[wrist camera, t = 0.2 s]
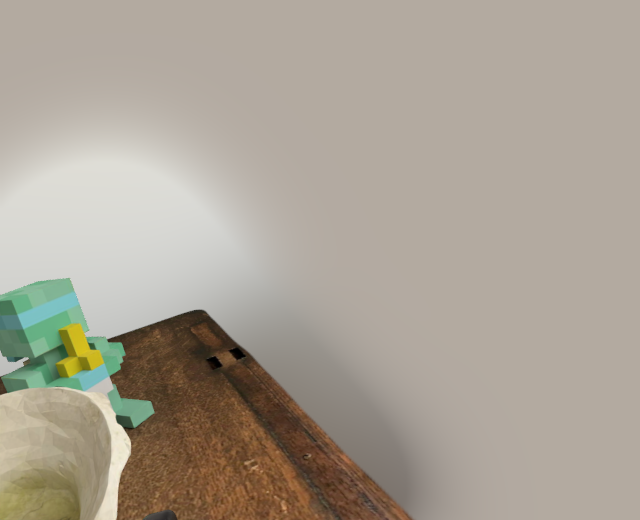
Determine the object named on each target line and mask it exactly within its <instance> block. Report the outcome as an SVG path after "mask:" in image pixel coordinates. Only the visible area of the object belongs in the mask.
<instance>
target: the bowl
mask: <svg viewBox="0 0 640 520" xmlns="http://www.w3.org/2000/svg"><path fill="white" fill-rule="evenodd" d="M115 417H116V413H115V412H114V411H113V410H112V409H111V406H110V401H109V400H108V399H107V397H106V396H105V395H104V394H103V393H99V392H84V391H81V390H76V389H72V388H68V387H51V388H28V389H23V390H19V391H14V392H11V393H7V394H3V395H0V520H116V518H117V500H118V486H119V481H120V476H121V471H122V470H123V468H124V466H125V464H126V462H127V460H128V458H129V456H130V455H131V441H130V439H129V437H128V436H127V434H126V432H125V430H124V429H123V427H122V426H121V425H119V424H118V423H117V421H116V418H115Z"/></svg>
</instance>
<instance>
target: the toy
mask: <svg viewBox="0 0 640 520" xmlns="http://www.w3.org/2000/svg"><path fill="white" fill-rule="evenodd" d="M87 331H89V328H88V326H87V323H86V320H85V318H84V315H83V312H82V310H81V307H80V304H79V302H78V299H77V296H76V294H75V291H74V288H73V286H72V283H71V281H70V278H66V279H57V280H47V281H38V282H35V283H33V284H30V285H27V286H24V287H21V288H19V289H16V290H13V291H10V292H8V293H5V294H2V295H0V350H1V353H2V355H3V356H6V357H7V360H8V361H9V362H16V361H18V360H20V359H22V358H24V357H29V359H28V360H27V361H25V362H23V363H24V366H23V367H21V368H19V369H17V370H15V371H13V372H11V373H9V374H7V375H5V376H3V377H1V378H2V381H3V383H4V385H5V388H6V390H7V392H8V393H11V392H14V391H19V390H23V389H28V388H51V387H68V388H72V389H76V390H81V391H84V392H99V393H103V394H104V395H105V396H106V397H107V399H108V400H109V401H110V406H111V409H112V410H113V411H114V412H115V413H116V417H115V418H116V421H117V423H118V424H119V425H121V426H123V427H129V428H135V427H137V426H138V425H139V424H140V423H142V422H143V421H144V420H146V419H147V418H148V417H149V416H151V415H152V414H153V413H155V412H154V410H153V407H152V404H151V401H143V400H133V399H123V398H120V396H119V394H118V391H117V388H116V385H115V384H112V382H111V380H110V377H109V376H110V375H112V374H113V373H115V372H117V371H118V370H120V369H121V367H120V365H119V364H120V363H122V362H123V359H122V356H124V355H125V352H124V349H123V346H122V344H121V343H108V342H107V339H106V337H85V334H84V333H85V332H87Z"/></svg>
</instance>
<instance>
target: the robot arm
mask: <svg viewBox="0 0 640 520" xmlns="http://www.w3.org/2000/svg"><path fill="white" fill-rule="evenodd" d="M143 520H177V517H176V515H175V513H174V512H173V511H171V510H164V511H161V512H157V513H153V514H149V515H147V516H146V517H145V518H144V519H143Z"/></svg>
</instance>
